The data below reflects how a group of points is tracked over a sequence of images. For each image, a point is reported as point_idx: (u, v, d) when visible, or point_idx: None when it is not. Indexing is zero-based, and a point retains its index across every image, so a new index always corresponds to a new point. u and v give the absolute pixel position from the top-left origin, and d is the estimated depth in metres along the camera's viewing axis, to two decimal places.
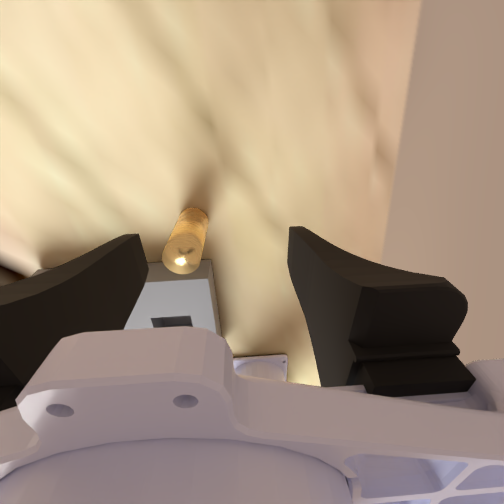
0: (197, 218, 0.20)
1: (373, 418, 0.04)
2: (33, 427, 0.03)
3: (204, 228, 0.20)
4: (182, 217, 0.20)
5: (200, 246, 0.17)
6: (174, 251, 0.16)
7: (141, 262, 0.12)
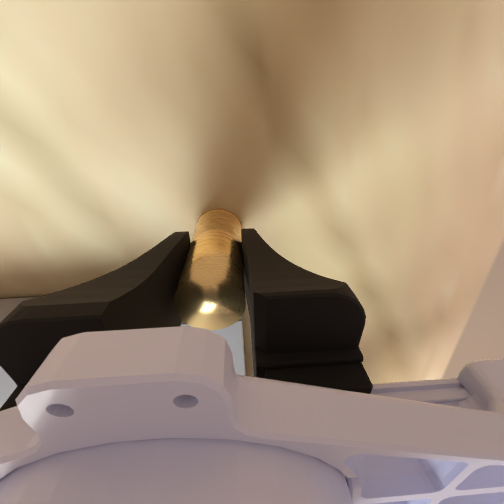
0: (229, 226, 0.12)
1: (373, 418, 0.04)
2: (33, 427, 0.03)
3: (241, 243, 0.12)
4: (205, 224, 0.12)
5: (243, 279, 0.09)
6: (198, 292, 0.08)
7: None
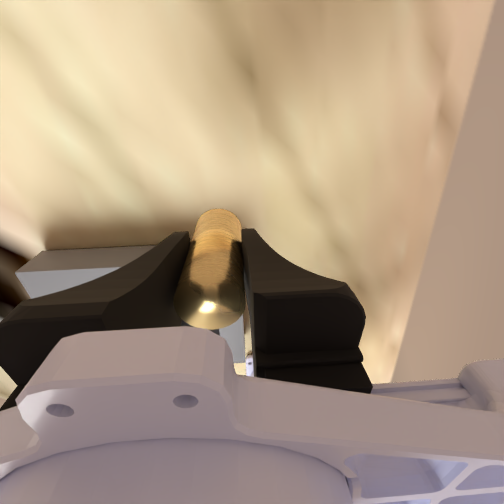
0: (229, 226, 0.12)
1: (373, 418, 0.04)
2: (33, 427, 0.03)
3: (241, 242, 0.12)
4: (204, 224, 0.12)
5: (242, 278, 0.09)
6: (198, 291, 0.08)
7: None
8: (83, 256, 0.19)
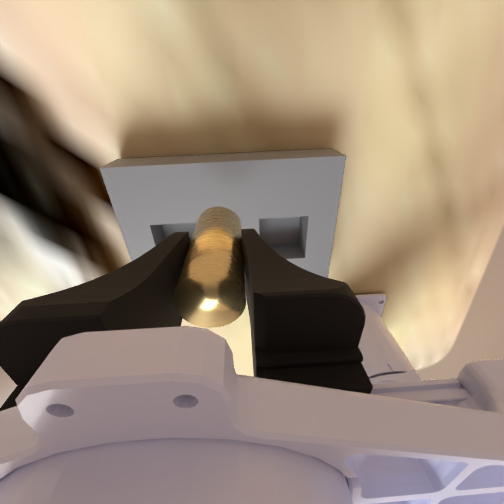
0: (231, 224, 0.12)
1: (373, 418, 0.04)
2: (33, 427, 0.03)
3: None
4: (206, 221, 0.12)
5: (244, 278, 0.09)
6: (199, 288, 0.08)
7: None
8: (167, 159, 0.18)
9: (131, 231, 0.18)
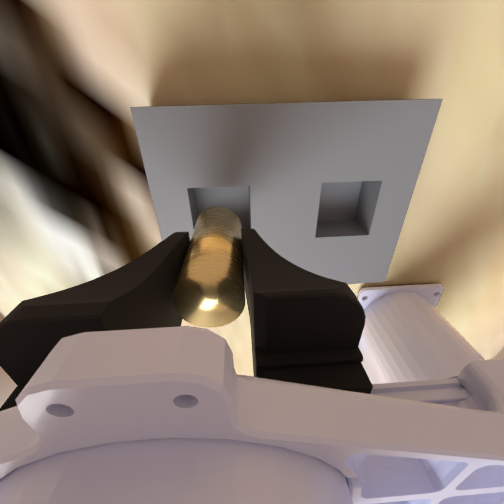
0: (231, 224, 0.12)
1: (373, 418, 0.04)
2: (33, 427, 0.03)
3: (241, 242, 0.12)
4: (206, 221, 0.12)
5: (243, 278, 0.09)
6: (198, 288, 0.08)
7: None
8: None
9: (163, 196, 0.15)
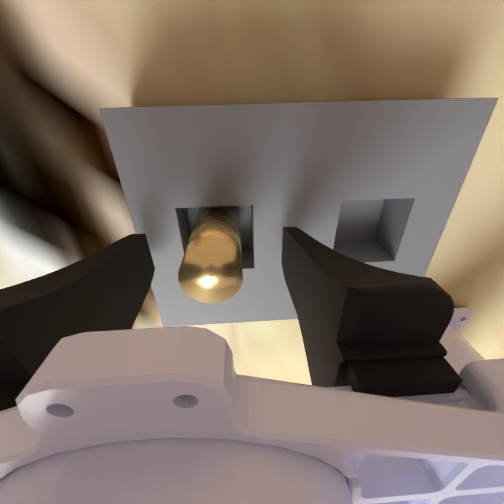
0: (230, 214, 0.13)
1: (373, 418, 0.04)
2: (33, 427, 0.03)
3: (239, 230, 0.13)
4: (207, 210, 0.13)
5: (241, 258, 0.10)
6: (201, 265, 0.09)
7: (148, 262, 0.12)
8: None
9: (146, 217, 0.12)
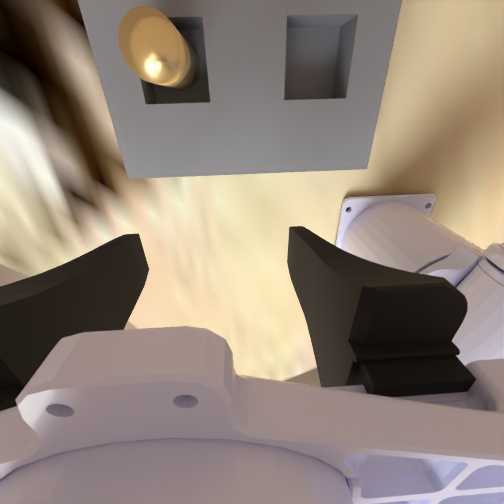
0: None
1: (373, 418, 0.04)
2: (33, 427, 0.03)
3: (192, 53, 0.13)
4: None
5: (183, 43, 0.11)
6: (139, 26, 0.10)
7: (141, 262, 0.12)
8: None
9: (100, 29, 0.13)
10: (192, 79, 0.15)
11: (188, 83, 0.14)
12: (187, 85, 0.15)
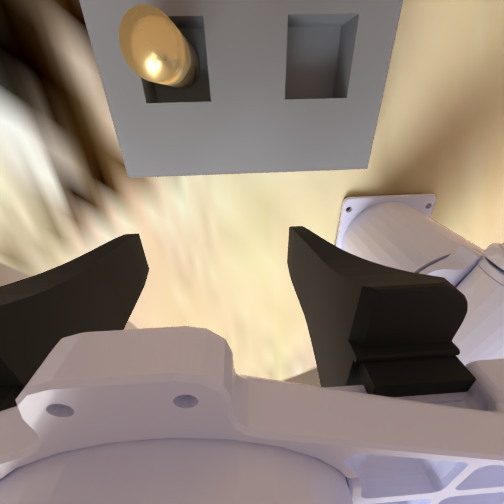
0: None
1: (373, 418, 0.04)
2: (33, 427, 0.03)
3: (193, 52, 0.13)
4: None
5: (183, 42, 0.11)
6: (140, 25, 0.10)
7: (141, 262, 0.12)
8: None
9: (101, 28, 0.13)
10: (193, 78, 0.15)
11: (189, 82, 0.14)
12: (188, 84, 0.15)
